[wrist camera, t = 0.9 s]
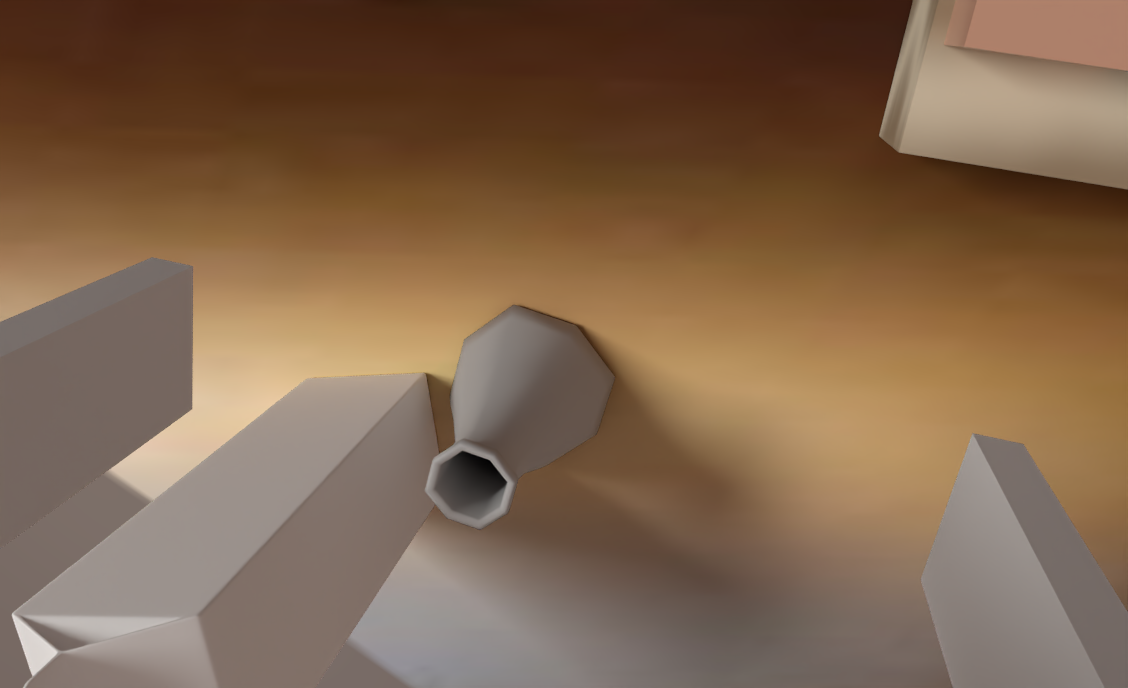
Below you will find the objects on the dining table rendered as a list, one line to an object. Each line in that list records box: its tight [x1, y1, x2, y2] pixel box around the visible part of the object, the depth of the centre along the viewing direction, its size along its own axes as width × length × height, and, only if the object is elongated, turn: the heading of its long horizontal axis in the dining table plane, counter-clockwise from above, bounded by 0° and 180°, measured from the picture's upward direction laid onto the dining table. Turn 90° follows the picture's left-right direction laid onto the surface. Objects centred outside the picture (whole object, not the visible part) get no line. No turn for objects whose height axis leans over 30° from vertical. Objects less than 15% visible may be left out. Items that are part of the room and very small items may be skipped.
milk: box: [12, 373, 439, 688], centre depth 34 cm, size 6×6×22 cm
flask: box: [425, 305, 615, 530], centre depth 37 cm, size 7×7×10 cm
